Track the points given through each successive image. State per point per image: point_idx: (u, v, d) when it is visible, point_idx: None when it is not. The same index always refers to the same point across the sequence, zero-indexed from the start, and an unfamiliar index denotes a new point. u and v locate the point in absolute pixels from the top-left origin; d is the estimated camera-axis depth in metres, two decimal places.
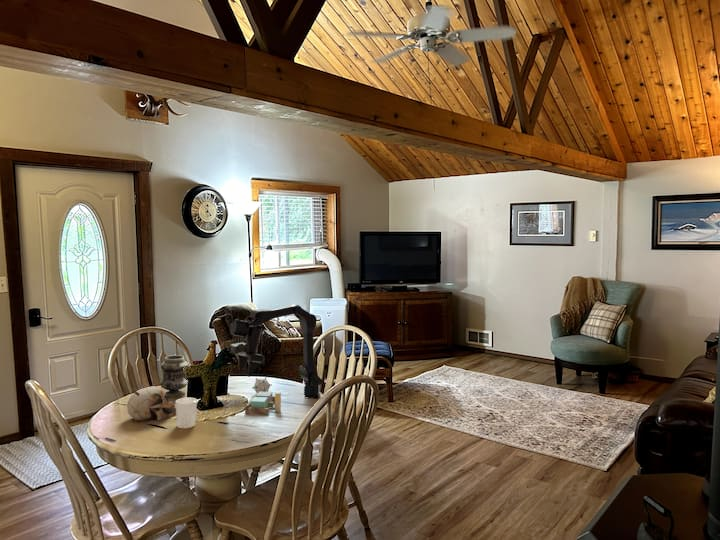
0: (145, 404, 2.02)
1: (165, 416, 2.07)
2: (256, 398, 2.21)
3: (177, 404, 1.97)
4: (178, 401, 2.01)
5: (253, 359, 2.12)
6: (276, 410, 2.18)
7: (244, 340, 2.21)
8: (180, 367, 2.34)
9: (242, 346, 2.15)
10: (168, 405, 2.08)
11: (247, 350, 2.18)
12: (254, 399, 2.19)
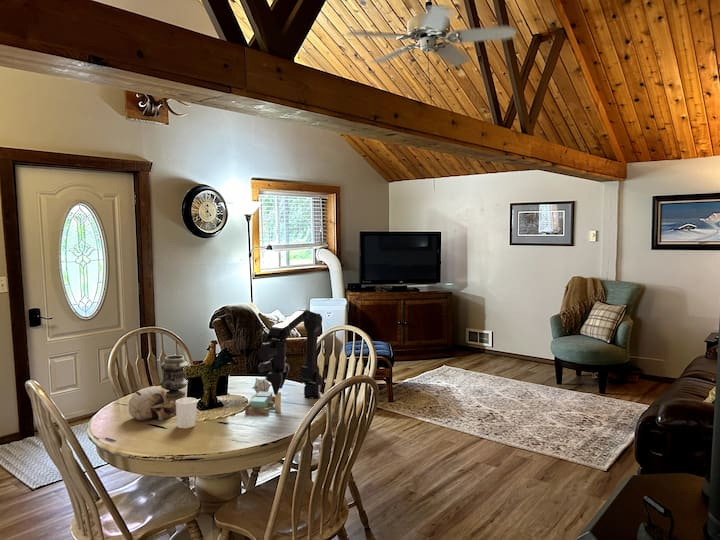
0: (146, 404, 2.02)
1: (166, 416, 2.08)
2: (256, 398, 2.21)
3: (177, 404, 1.97)
4: (178, 401, 2.01)
5: (268, 378, 2.09)
6: (276, 410, 2.18)
7: None
8: (180, 367, 2.34)
9: (262, 365, 2.15)
10: (169, 405, 2.08)
11: (270, 368, 2.16)
12: (254, 399, 2.19)
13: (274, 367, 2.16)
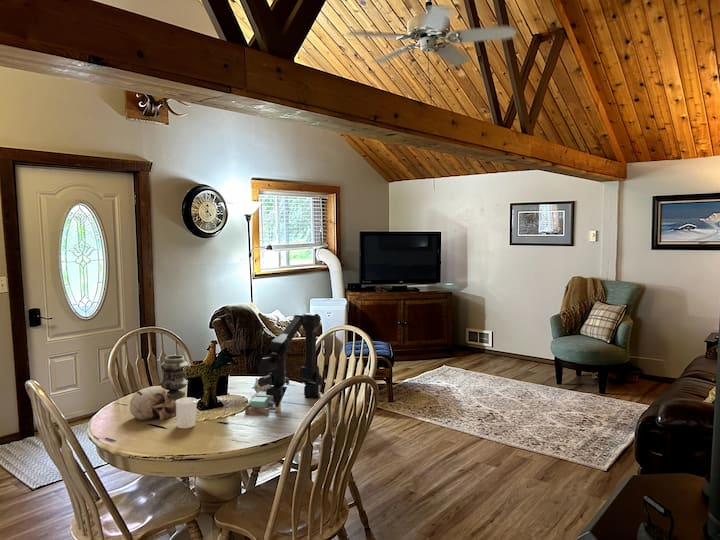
0: (147, 404, 2.03)
1: (167, 416, 2.08)
2: (256, 398, 2.21)
3: (177, 404, 1.97)
4: (178, 401, 2.01)
5: (268, 393, 2.10)
6: (276, 410, 2.18)
7: None
8: (180, 367, 2.34)
9: (262, 380, 2.15)
10: (170, 405, 2.08)
11: (270, 383, 2.16)
12: (254, 399, 2.19)
13: (274, 381, 2.16)
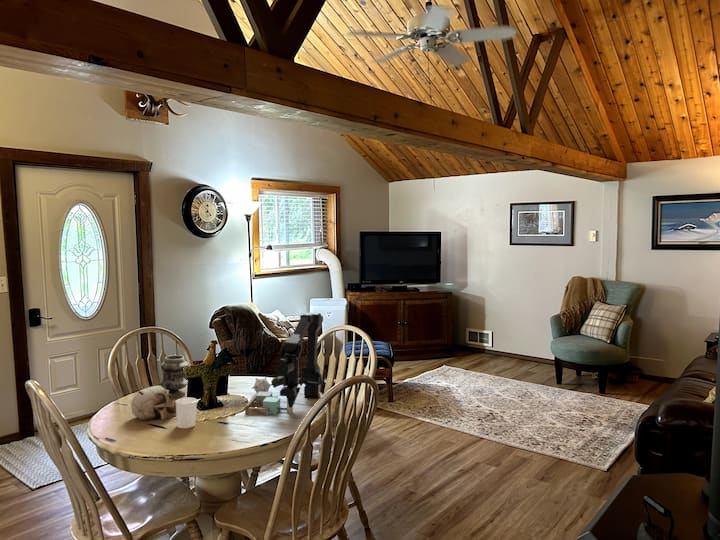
0: (149, 404, 2.03)
1: (169, 415, 2.08)
2: (269, 398, 2.21)
3: (177, 404, 1.97)
4: (178, 401, 2.01)
5: (282, 394, 2.09)
6: (288, 411, 2.18)
7: None
8: (180, 367, 2.34)
9: (275, 380, 2.15)
10: (172, 404, 2.09)
11: (284, 383, 2.16)
12: (266, 399, 2.19)
13: (287, 382, 2.16)
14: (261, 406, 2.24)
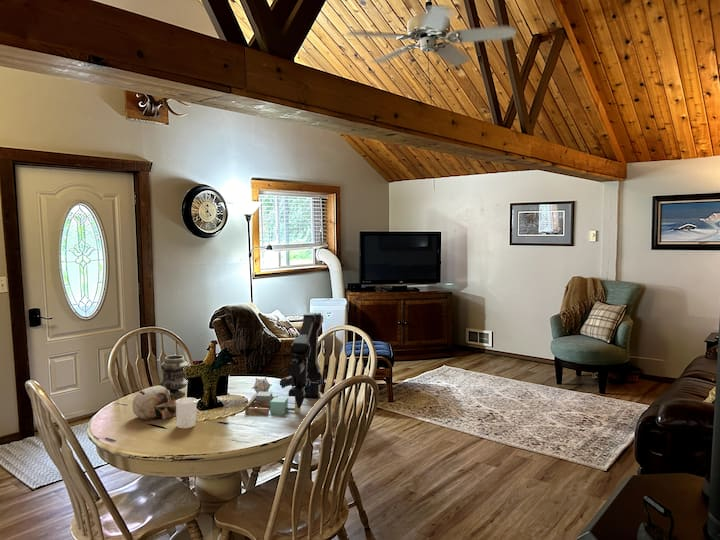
0: (150, 404, 2.03)
1: (170, 415, 2.09)
2: (276, 398, 2.21)
3: (177, 404, 1.97)
4: (178, 401, 2.01)
5: (290, 394, 2.09)
6: (296, 411, 2.18)
7: None
8: (180, 367, 2.34)
9: (284, 381, 2.14)
10: (173, 404, 2.09)
11: (292, 384, 2.15)
12: (274, 399, 2.19)
13: (296, 382, 2.16)
14: (261, 406, 2.24)
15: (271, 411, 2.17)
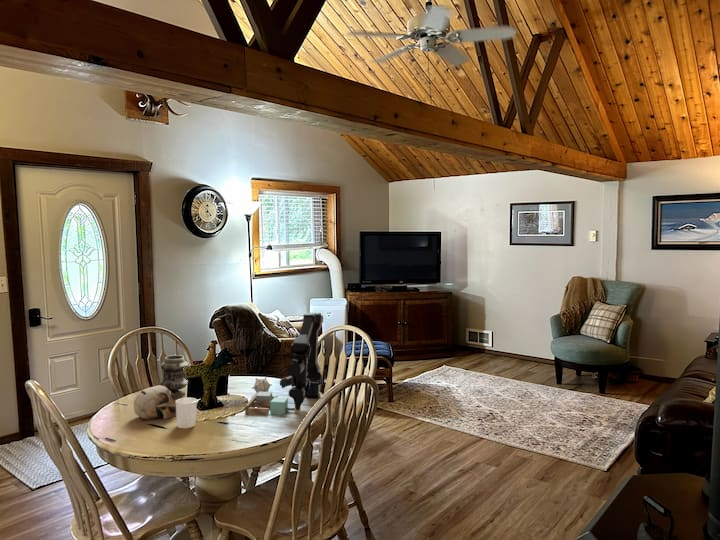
0: (151, 403, 2.03)
1: (171, 415, 2.09)
2: (276, 399, 2.21)
3: (177, 404, 1.97)
4: (178, 401, 2.01)
5: (290, 394, 2.09)
6: (296, 411, 2.18)
7: None
8: (180, 367, 2.34)
9: (284, 381, 2.14)
10: (174, 404, 2.09)
11: (292, 384, 2.15)
12: (274, 400, 2.19)
13: (296, 382, 2.16)
14: (261, 406, 2.24)
15: (271, 411, 2.17)
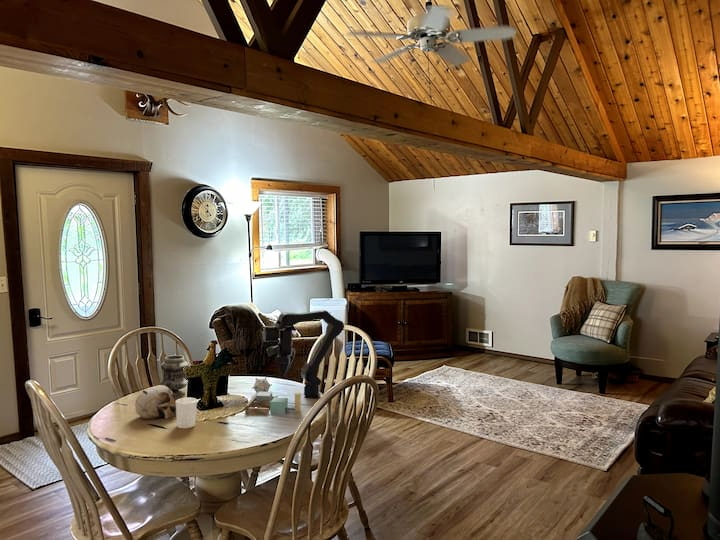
0: (153, 403, 2.04)
1: (173, 415, 2.09)
2: (276, 399, 2.21)
3: (177, 404, 1.97)
4: (178, 401, 2.01)
5: (277, 361, 2.26)
6: (296, 411, 2.18)
7: None
8: (180, 367, 2.34)
9: (271, 349, 2.31)
10: (175, 404, 2.10)
11: (278, 352, 2.32)
12: (274, 400, 2.19)
13: (282, 351, 2.32)
14: (261, 406, 2.24)
15: (271, 411, 2.17)
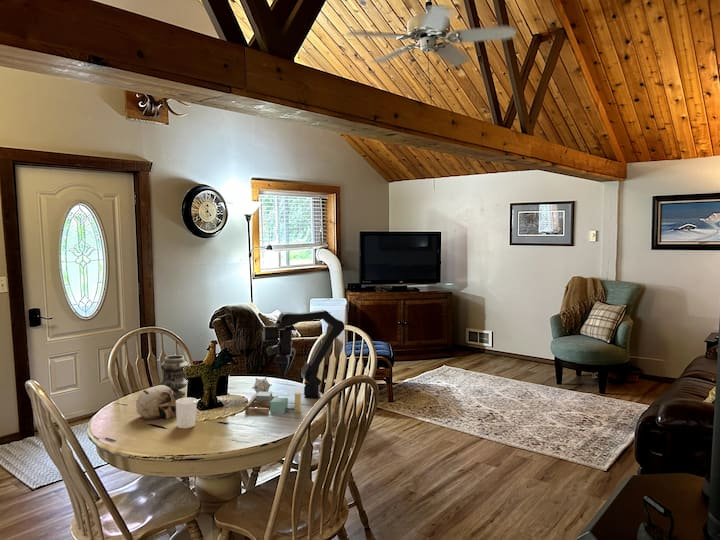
0: (153, 403, 2.04)
1: (173, 414, 2.09)
2: (276, 399, 2.21)
3: (177, 404, 1.97)
4: (178, 401, 2.01)
5: (276, 360, 2.26)
6: (296, 411, 2.18)
7: None
8: (180, 367, 2.34)
9: (270, 349, 2.31)
10: None
11: (278, 352, 2.33)
12: (274, 400, 2.19)
13: (281, 350, 2.33)
14: (261, 406, 2.24)
15: (271, 411, 2.17)
